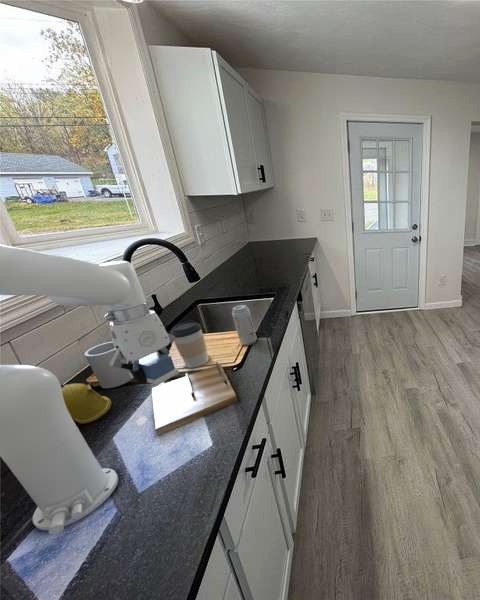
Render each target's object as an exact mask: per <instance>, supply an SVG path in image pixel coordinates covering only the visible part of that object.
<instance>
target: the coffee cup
mask: <svg viewBox="0 0 480 600" xmlns="http://www.w3.org/2000/svg"><path fill="white" fill-rule="evenodd" d="M202 328H203V326H202V325H201V323H198V322H196V321H194V320H192V319H189V320H185V322H181V323H178V324H176V325H174V326H173V327H172V329H171V330H170V331H169V332H170V333H169V334H171V335H173V336H175V337H176V338H175V340H174V342H173V343H174V345H175V347H176V349H177V352H178V353H179V355H180V358H182V360H183V363H184V364H185V366H186V368H190V369H193V368H198V367H201V366H203V365H205V364H206V363H207V362H209V359H210V358H209V355H208V351H207V348H208V347H207V345H206V341H205V336H204V333H203V330H202Z"/></svg>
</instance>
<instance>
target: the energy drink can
mask: <svg viewBox="0 0 480 600" xmlns="http://www.w3.org/2000/svg"><path fill="white" fill-rule="evenodd" d="M231 316H232V319H233V323H234V325H235V326H234V327H235V330H236V333H237V337H238V339H239V343H240V344H241V345H243V346H250V345H254V344H255V343H256V341H257V338H258V337H257V334H256V330H255V326H254V322H253V319H252V314H251V311H250V308H249V307H248V306H247V305H246V304H238V305H236V306H233V307H232V311H231Z"/></svg>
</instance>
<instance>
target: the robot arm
mask: <svg viewBox="0 0 480 600" xmlns="http://www.w3.org/2000/svg"><path fill="white" fill-rule="evenodd" d="M0 296H45V297H47V299H48V300H50V301H51V302H52V303H53V304H56V305H60V306H65V307H91V306H93V307H94V306H105V310H106V314H105V315H102V320H103V321H104V322H109V331H110V338H111V340H112V341H111V342H113V344H114V347H115V350H116V352H115V354H114V356H113V358H112V360H111V362H110V364H109V365H110V366H112V367H117V368H123V369H128V370H130V371H131V373H132V375H133V380H134V381H135V382H138V383H142V384H146V383H148V382H147V380H146V377H145V374H144V372H143V370H142V369H141V368H139V359H141V358H144V357H146V356H148V355H150V354H152V353H159V354H164V355H168V356H170V353H171V352H170V350H171V348H172V347H173V343H174V340H175V338H176V337H175V336H173V335H171V333H168V332H167V330H166V328H165V326H164V324H163V322H162V320H161V319H160V317H159V315H158V314H157V313H156V311H155V310H151V309H150V307H149V303H148V301H147V299H146V296H145V292H144V291H143V288H142V286H141V283H140V280H139V276H138V274H137V272H136V269H135V267H134V265H133V264H132V262H129V261H127V260H115V261H109V262H108V261H107V262H104V263H99V264H97V263H94V262H91V261H87V260H82V259H78V258H74V257H68V256H62V255H57V254H51V253H46V252H40V251H36V250H32V249H28V248H27V249H26V248H20V247H14V246H9V245H5V244H0ZM121 359H126V360H127V364H126V363H121V362H120V361H121ZM0 458H1V459H2V461H3V462H4V463H5V464H6V466H7V467H8V468H9V470H10V471H11V472H12V474H13V475H14V476H15V478H16V479H17V481H18V482H19V483H20V485H21V486H22V487H23V489H24V490H25V492H26V493H27V494H28V495H29V497H30V498H31V499H32V501H33V502H34V503H35V505H36V506H37V507H36V508H35V511H34V512H33V514H32V519H31V520H32V523H33V525H34V526H35V527H36V528H37V529H38V530H41V531H48V532H47V533H48V535H51V536H54V535H58V534H60V533H62V532H63V531H64V529H65V527H66V526H69V525H71V524H73V523H75V522H78V521H80V520H81V519H83V518H85V517H86V516H87V515H90V514H91V513H92V512H94V511H95V510H96V509H98V508H99V507H100V506H101V505H102V504H104V503H105V501H106V500H107V499H108V498H109V497H111V495H112V493H113V492H114V491H115V489H116V487H118V483H119V476H118V473H117V472H116V470H115V469H112V468H108V467H102V466H101V465H100V463H99V462H98V459H97V458H96V456H95V455H94V452H93V451H92V450H91V448H90V446H89V445H88V443H87V441H86V439H85V438H84V436H83V434H82V433H81V431H80V429H79V427H78V426H77V425H76V423H75V421H74V418H72V417H71V415H70V414H69V412H68V409H67V407H66V405H65V402H64V399H63V394H62V389H61V383H60V381H59V379H58V377H57V376H56V375H55V374H54V373H52V372H51V371H49V370H48V369H45V368H43V367H39V366H35V365H29V364H0Z"/></svg>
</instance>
